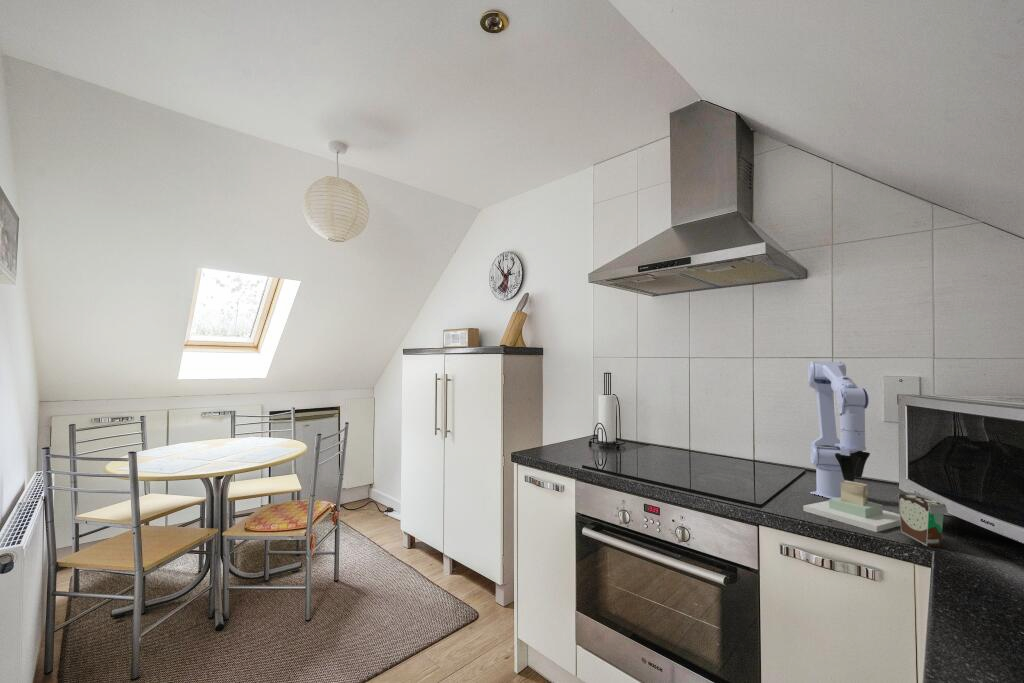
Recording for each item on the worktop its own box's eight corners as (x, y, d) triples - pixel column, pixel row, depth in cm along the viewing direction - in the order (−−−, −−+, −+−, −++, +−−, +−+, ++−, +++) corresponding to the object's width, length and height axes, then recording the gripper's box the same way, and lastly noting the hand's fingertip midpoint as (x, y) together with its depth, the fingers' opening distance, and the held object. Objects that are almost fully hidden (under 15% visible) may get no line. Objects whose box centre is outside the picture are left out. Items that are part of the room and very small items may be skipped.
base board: (838, 503, 138) (837, 490, 138) (911, 522, 122) (910, 507, 122) (803, 510, 130) (803, 496, 130) (876, 532, 114) (876, 516, 114)
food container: (962, 551, 103) (961, 507, 103) (931, 548, 104) (930, 504, 104) (925, 532, 115) (924, 492, 115) (897, 529, 116) (896, 490, 117)
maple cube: (845, 498, 130) (845, 480, 130) (867, 502, 126) (867, 484, 126) (840, 501, 127) (840, 483, 127) (862, 505, 123) (862, 487, 123)
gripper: (843, 426, 135) (843, 472, 135) (827, 430, 126) (827, 479, 126) (872, 429, 130) (873, 477, 129) (858, 433, 121) (858, 484, 120)
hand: (852, 478), depth 127 cm, fingers open, 7 cm apart
